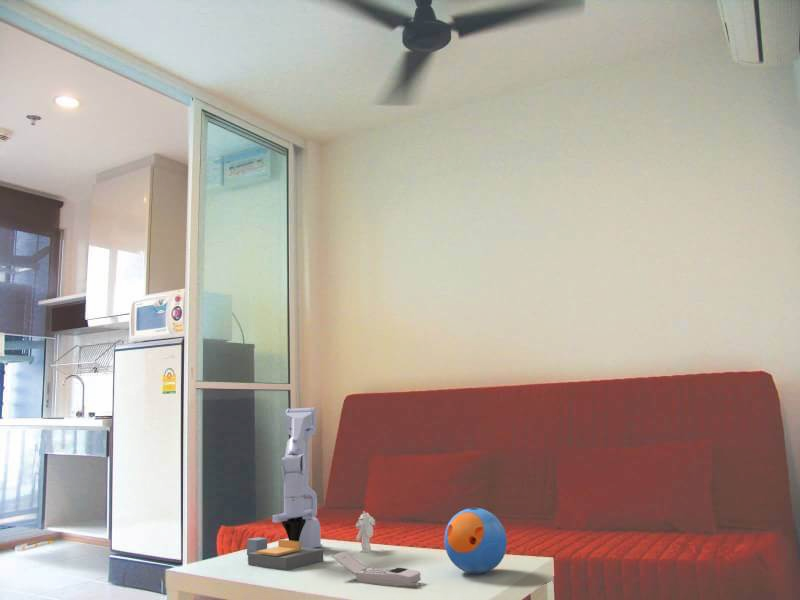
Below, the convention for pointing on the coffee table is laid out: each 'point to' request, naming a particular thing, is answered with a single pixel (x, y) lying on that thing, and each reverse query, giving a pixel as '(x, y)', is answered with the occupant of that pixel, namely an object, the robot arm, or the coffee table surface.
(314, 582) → the coffee table surface
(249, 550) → the grey rectangular block
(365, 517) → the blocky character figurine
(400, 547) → the coffee table surface
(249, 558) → the socket base
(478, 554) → the treat dispenser ball
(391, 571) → the mobile phone
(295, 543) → the panel
